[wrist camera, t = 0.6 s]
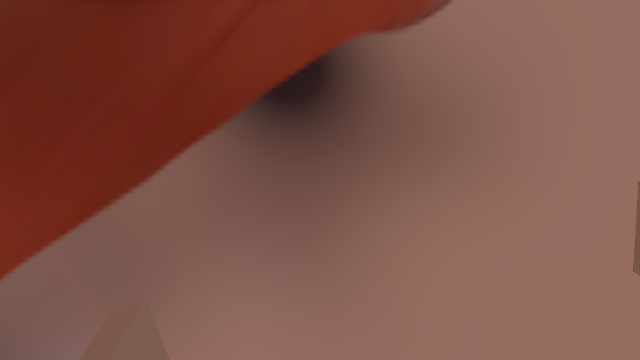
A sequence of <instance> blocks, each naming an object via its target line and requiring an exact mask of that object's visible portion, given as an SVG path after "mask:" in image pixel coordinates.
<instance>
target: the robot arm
mask: <svg viewBox="0 0 640 360" xmlns="http://www.w3.org/2000/svg"><path fill="white" fill-rule="evenodd" d="M633 271H634V272H635V273H637V274H639V275H640V182H638V199H637V214H636V231H635V247H634V265H633ZM79 360H170V359H169V357H168V354H167V352H166V349H165V347H164V345H163V342H162V340H161V337H160V335H159V333H158V330H157V328H156V325H155V323H154V321H153V318H152V315H151V313H150V311H149V309H148V306H147V304H146V301H145V299H142V300H138V301H134V302H129V303H125V304H121V305H117V306H114V307H113V309H112V311H111V312H110V313H109V315H108V316H107V318H106V319H105V321H104V322H103V324H102V325H101V327H100V328H99V330H98V331H97V333H96V334H95V336H94V337H93V339H92V340H91V342H90V343H89V345H88V346H87V348H86V349H85V351H84V352H83V354H82V355H81V357H80V358H79Z"/></svg>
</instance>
